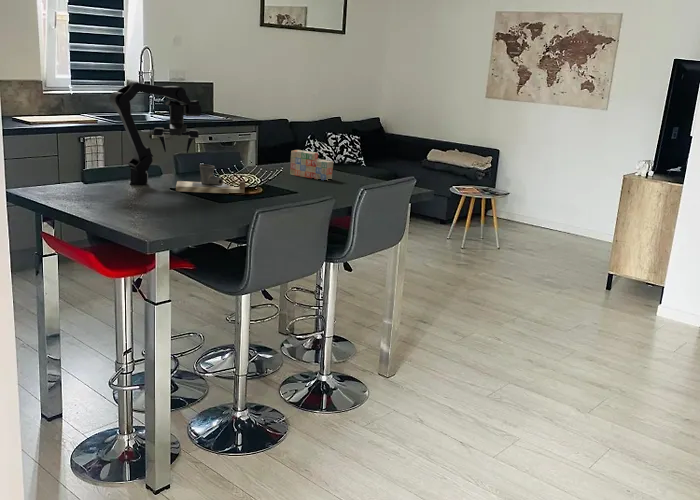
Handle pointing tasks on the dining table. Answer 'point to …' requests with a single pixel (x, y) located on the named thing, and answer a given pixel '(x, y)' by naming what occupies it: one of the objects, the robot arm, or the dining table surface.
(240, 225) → the dining table surface
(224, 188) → the roller board
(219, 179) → the pipe
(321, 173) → the stack of blocks
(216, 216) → the dining table surface
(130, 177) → the robot arm
